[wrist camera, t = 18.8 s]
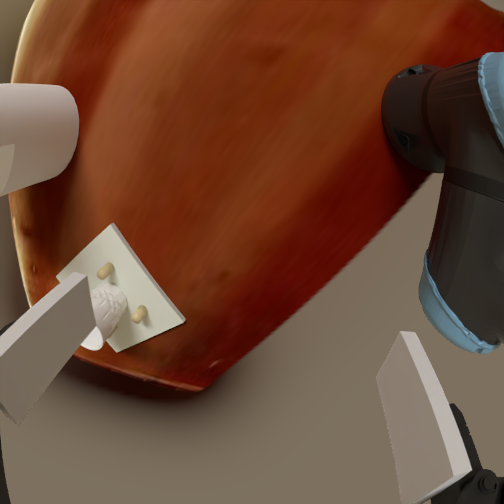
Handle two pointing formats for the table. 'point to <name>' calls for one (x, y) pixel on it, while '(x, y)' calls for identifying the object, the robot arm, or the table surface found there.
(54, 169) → the cylinder
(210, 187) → the table surface
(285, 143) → the table surface
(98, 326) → the white cup
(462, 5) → the table surface
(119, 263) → the standoff plate
